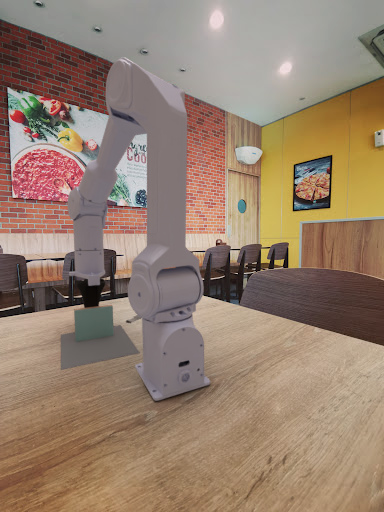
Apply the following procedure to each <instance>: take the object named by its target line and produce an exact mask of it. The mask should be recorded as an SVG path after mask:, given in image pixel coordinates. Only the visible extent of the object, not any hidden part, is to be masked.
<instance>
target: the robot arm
mask: <svg viewBox="0 0 384 512" xmlns="http://www.w3.org/2000/svg"><path fill="white" fill-rule="evenodd" d="M185 94H186V93H185V90H183V89H182V88H180V87H179V86H177V85H175V84H174V83H171V82H167V81H166V80H165V79H162V78H161V77H159V76H157V75H155V74H153V73H151V72H150V71H148V70H146V69H144V68H143V67H141V66H140V65H139V64H137V63H136V62H134V61H132V60H130V59H129V58H127V57H125V56H124V57H123V56H122V57H120V58H118V59H117V60H115V61H114V62H113V63H112V65H111V66H110V69H109V71H108V74H107V77H106V81H105V105H106V110H107V113H108V115H109V116H108V118H107V122H106V126H105V128H104V132H103V136H102V139H101V142H100V147H99V150H98V153H97V156H96V159H93V160H90V161H88V162H87V165H86V166H85V170H84V172H83V175H82V178H81V180H80V182H79V184H78V185H79V186H74V189H72V190H70V191H69V193H68V197H67V207H66V208H67V213H68V216H69V217H70V219H71V220H72V225H73V226H72V227H73V247H74V248H73V249H74V269H75V270H74V271H69V272H68V275H69V277H74V276H75V277H78V278H83V280H76V281H75V285H76V287H77V289H78V290H79V292H80V295H81V299H82V302H83V303H82V304H83V308H88V307H96V306H100V300H101V296H102V292H103V290H104V289H105V286H106V281H105V279H104V278H101V277H103V276H104V275H106V270H105V256H104V254H105V252H104V229H105V228H106V217H107V215H108V209H109V206H108V203H107V202H108V199H109V197H110V195H111V193H112V192H113V189H114V187H115V185H116V183H117V181H118V178H119V175H118V172H117V171H116V168H117V167H118V165H119V164H120V162H121V161H122V159H123V157H124V155H125V154H126V152H127V150H128V149H129V147H130V145H131V143H132V142H133V140H134V139H135V137H136V136H139V135H141V136H142V135H146V246H145V247H144V249H143V250H142V251H141V252H140V253H138V255H136V257H134V258H133V260H132V261H131V268H132V269H131V276H130V280H129V282H128V285H127V297H128V302H129V305H130V307H131V309H132V311H133V312H134V313H135V314H136V315H137V316H138V317H141V324H142V325H141V326H142V327H141V328H142V329H141V330H142V362H140V363H137V364H135V365H134V368H135V370H136V372H137V374H138V375H139V377H140V378H141V379H142V382H143V384H144V385H145V388H146V389H147V391H148V393H149V394H150V396H151V398H152V400H154V401H156V402H157V401H161V400H164V399H167V398H170V397H174V396H177V395H180V394H183V393H184V394H185V393H186V392H190V391H194V390H196V389H200V388H202V387H206V386H209V385H210V384H211V380H210V379H209V377H207V376H206V374H205V342H204V341H205V339H204V337H203V335H202V333H201V332H200V331H199V329H197V327H196V325H195V323H194V320H193V319H194V318H193V313H196V311H197V306H196V305H197V304H198V303H200V302H201V300H202V298H203V296H204V290H205V289H204V288H205V287H204V281H203V278H202V275H201V271H200V259H199V257H197V256H196V255H195V254H193V252H191V250H189V249H188V248H187V247H186V236H187V235H186V233H187V232H186V231H187V230H186V229H187V175H188V174H187V170H188V169H187V164H188V163H187V162H188V155H187V154H188V112H187V110H186V106H185V104H186V103H185V100H186V99H185V97H186V95H185Z"/></svg>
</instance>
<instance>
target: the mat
mask: <svg viewBox="0 0 384 512" xmlns="http://www.w3.org/2000/svg"><path fill="white" fill-rule="evenodd" d="M113 332H114V335H112V336H106V337H100V338H95V339H89V340H83V341H77V342H76V341H75V331H74V332H73V331H72V332H68V333H63V334H62V333H61V334H60V370H61V371H62V370H68V369H72V368H77V367H82V366H86V365H90V364H96V363H100V362H105V361H109V360H114V359H118V358H123V357H128V356H132V355H137V354H140V353H141V352H140V351H139V349H138V347H136V345H135V344H134V341H132V339H131V338H130V336H129V335H128V334H127V332H126V331H125V330H124V328H123V326H122V325H121V324H118V325H113Z"/></svg>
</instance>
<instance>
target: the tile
mask: <svg viewBox="0 0 384 512" xmlns="http://www.w3.org/2000/svg"><path fill="white" fill-rule="evenodd" d="M73 309H74V310H73V311H74V312H73V313H74V314H73V315H74V317H73V318H74V332H75V341H76V342H77V341H83V340H89V339H95V338H100V337H106V336H112V335H114V332H113V326H114V306H113V304H104V305H99V306H96V307H88V308H84V307H81V308H73Z"/></svg>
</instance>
